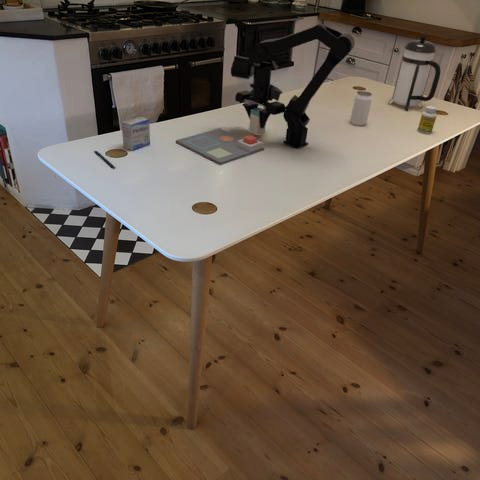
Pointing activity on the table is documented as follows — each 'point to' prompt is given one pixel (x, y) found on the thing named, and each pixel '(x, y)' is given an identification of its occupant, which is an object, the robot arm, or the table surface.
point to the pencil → (105, 160)
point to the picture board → (220, 146)
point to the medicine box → (136, 133)
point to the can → (361, 108)
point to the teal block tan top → (255, 122)
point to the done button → (250, 139)
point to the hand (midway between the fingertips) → (257, 126)
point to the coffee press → (415, 74)
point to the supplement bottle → (427, 120)
